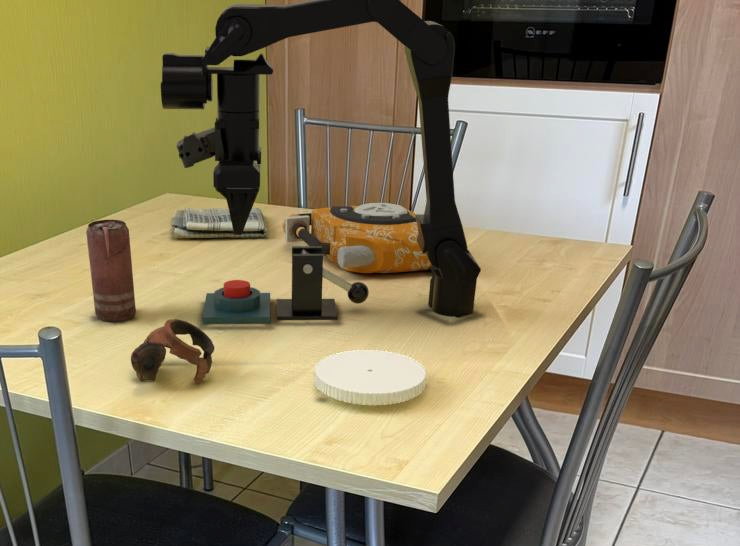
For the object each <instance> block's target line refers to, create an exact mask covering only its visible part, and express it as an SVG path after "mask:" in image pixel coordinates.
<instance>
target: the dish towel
mask: <svg viewBox="0 0 740 546" xmlns="http://www.w3.org/2000/svg"><path fill="white" fill-rule="evenodd" d="M170 226H171V228H172V227H173V228H174V231H173V233H174V236H173V238H174V239H215V238H235V239H236V238H238V239H240V238H241V239H242V238H247V239H248V238H251V239H252V238H253V239H254V238H264V237H267V235H268V234H269V230H268V229H267V221H266V218H265V215H264V213H263V212H262V210H261V208H259V207H252V209H251V212H250V215H249V217H248V220H247V222H246V225H245V228H244V230H243V233H242V235H235V234H234V231H233V227H232V222H231V218H230V213H229V208H199V209H196V208H190V207H185V208H184V210H183V209H176V210H175V213H174V217H173V220H172V222H171V223H170Z"/></svg>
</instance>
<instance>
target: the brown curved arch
mask: <svg viewBox="0 0 740 546" xmlns="http://www.w3.org/2000/svg"><path fill="white" fill-rule="evenodd" d="M177 335H180V336H181V335H182V336H185V335H190V337H191V338H190V339H191V341H192V345H189V344H188V343H187V342H185V341H184V340H182V339H181V338H180V337H178V336H177ZM194 346H198V347H199V348H197V347H194ZM166 348H168V349H169V354H171V355H173V356H175V357H177V358H178V359H180V360H185V361H186V362H188V363H190V364H192V365H195V366H196V372H195V375H194V377H193V381H194V383H196V384H202V383H203V382H204V379H205V378H206V377H207V374H209V373H210V371H211V369H212V365H213V358H212V355H213V353H214V352H215V345H214V343H213V341H212V339H211V337H209V335H207V334H206V332H204V331H203V330H201V329H200V328H199V327H198V326H196V325H194V324H193V323H190V322H189V321H186V320H182V319H178V318H174V319H173V318H171V319H167V320H166V321H165V322H164V325H162V326H160V327H158V328H155V329H154V330H151V332H149V334H148V335H147V336H146V338H145V339H144V341H143V342H142V343H141V344H139V346H137V347H136V348H134V350H133V351H132V353H131V355H130V363H131V367H132V370H133V371H134V372H135V374H136V376H137V378H138V380H139V381H143V379H144V380H145V381H148V382H155V381H156V380H157V376H158V375H157V374H158V373H159V369H160V367H161V366H162V364H163V362H164V361H165V359H166V355H167V349H166ZM201 350H202V351H203V353H202V352H201ZM201 355H202V357H200V356H201Z"/></svg>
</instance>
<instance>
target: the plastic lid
mask: <svg viewBox="0 0 740 546" xmlns="http://www.w3.org/2000/svg"><path fill="white" fill-rule="evenodd" d="M313 375H314V376H313V377H314V378H313V381H314V382H313V383H314V386H315V387H316V388H317V390H318V391H319V392H321V394H324V395H325V396H327V397H328V398H331V399H334V400H336V401H339V402H344V403H348V404H353V405H360V406H361V405H363V406H382V405H383V406H387V405H392V404H393V405H396V404H400V403H405V402H406V401H410V400H412V399H415V398H416V397H418V396H420V395H421V394H422V393H423V392H424V390H425V389H426V384H427V383H426V382H427V370H426V368H425V366H424V365H423V364H422V363H421V362H420V361H417V360H416V359H414V358H413V357H410V356H407V355H406V354H405V355H403V354H402V353H398V352H394V351H386V350H380V349H378V350H377V349H354V350H353V349H351V350H345V351H341V352H340V351H339V352H337V353H333V354H330V355H326V356H325V357H324V358H322V359H321V360H319V361H318V362H317V363H316V364H315V367H314V374H313Z"/></svg>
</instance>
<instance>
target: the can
mask: <svg viewBox="0 0 740 546" xmlns="http://www.w3.org/2000/svg"><path fill="white" fill-rule="evenodd" d="M85 232H86V243H87V251H88V260H89V267H90V268H89V269H90V278H91V287H92V296H93V305H94V314H95V316H96V318H97V319H98V320H99V321H101V322H105V323H121V322H122V323H123V322H127V321H129V320H132V319H133V318H134V317H135V315H136V313H137V309H136V297H135V287H134V284H135V283H134V273H133V263H132V261H133V260H132V251H131V239H130V229H129V228H128V226H127V223H126V222H125V221H124V220H119V219H101V220H96V221H92V222H89V223H88V225H87V229H86V230H85Z"/></svg>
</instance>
